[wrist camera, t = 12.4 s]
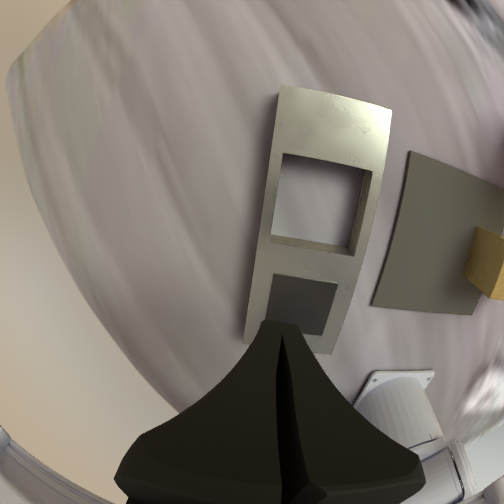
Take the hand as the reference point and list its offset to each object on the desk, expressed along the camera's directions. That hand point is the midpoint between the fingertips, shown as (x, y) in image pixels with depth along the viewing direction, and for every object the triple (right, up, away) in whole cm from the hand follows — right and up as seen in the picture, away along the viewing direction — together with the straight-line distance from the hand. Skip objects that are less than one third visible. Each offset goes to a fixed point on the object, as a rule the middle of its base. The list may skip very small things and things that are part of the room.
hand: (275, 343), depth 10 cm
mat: (+15, +4, +8) cm, 17 cm away
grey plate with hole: (+3, +5, +9) cm, 10 cm away
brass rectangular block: (+17, +3, +5) cm, 18 cm away
